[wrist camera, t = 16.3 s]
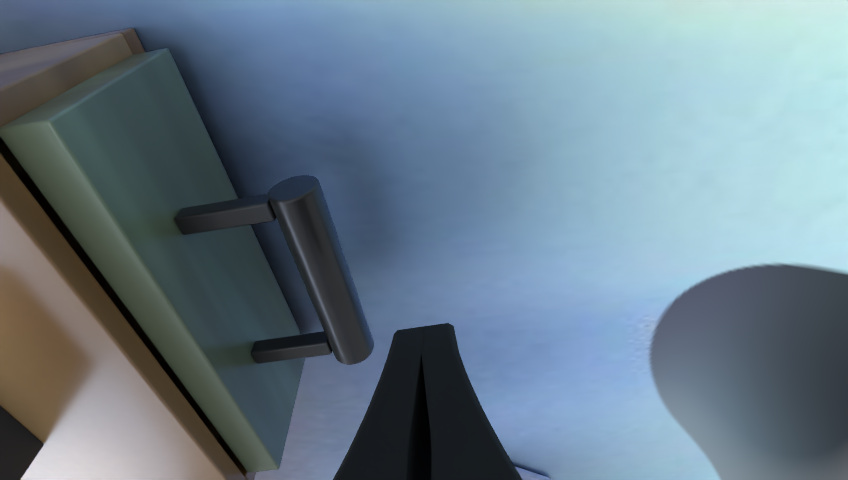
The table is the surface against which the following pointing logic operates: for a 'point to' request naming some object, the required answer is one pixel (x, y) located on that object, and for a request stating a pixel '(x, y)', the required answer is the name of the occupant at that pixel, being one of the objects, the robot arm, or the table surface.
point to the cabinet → (82, 322)
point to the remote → (15, 447)
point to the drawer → (189, 247)
